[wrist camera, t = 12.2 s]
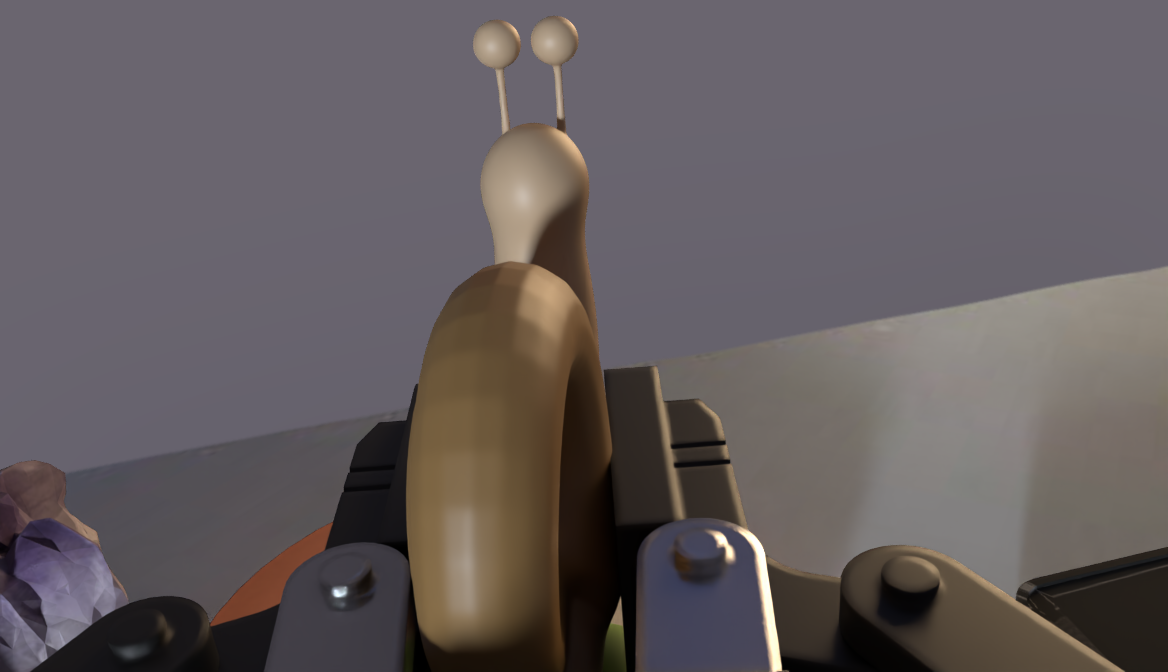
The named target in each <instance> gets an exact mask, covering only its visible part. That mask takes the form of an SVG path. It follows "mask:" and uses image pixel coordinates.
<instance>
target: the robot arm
mask: <svg viewBox="0 0 1168 672" xmlns="http://www.w3.org/2000/svg"><path fill="white" fill-rule="evenodd" d="M604 379H605V392H606V403H607V410H608V417H609V426H610V434H611V442H612V455H611V458H610V459H611V472H612V486H613V499H614V513H615V526H616V539H617V552H618V565H619V579H620V592H621V605H622V618H623V631H624V645H625V658H626V671H627V672H1125V671H1123V670H1122V669H1120V668H1119V667H1117V666H1116V665H1114V664H1113V663H1111V662H1110V661H1108V660H1107V659H1105V658H1103V657H1102V656H1100V655H1099V654H1097V653H1096V652H1094V651H1093V650H1091V649H1090V648H1088V647H1087V646H1085V645H1084V644H1082V643H1081V642H1079V641H1078V640H1076V639H1075V638H1073V637H1071V636H1070V635H1068V634H1067V633H1065V632H1064V631H1062V630H1061V629H1059V628H1058V627H1056V626H1055V625H1053V624H1052V623H1050V622H1049V621H1047V620H1046V619H1044V618H1043V617H1041V616H1040V615H1038V614H1036V613H1035V612H1033V611H1032V610H1030V609H1029V608H1027V607H1026V606H1024V605H1023V604H1021V603H1020V602H1018V601H1017V600H1015V599H1014V598H1012V597H1011V596H1009V595H1008V594H1006V593H1004V592H1003V591H1001V590H1000V589H998V588H997V587H995V586H994V585H992V584H991V583H989V582H988V581H986V580H985V579H983V578H982V577H980V576H979V575H977V574H976V573H974V572H972V571H971V570H969V569H968V568H966V567H965V566H963V565H962V564H960V563H959V562H957V561H955V560H954V559H952V558H950V557H948V556H946V555H944V554H941V553H939V552H936V551H933V550H930V549H926V548H921V547H916V546H906V545H891V546H883V547H878V548H874V549H870V550H868V551H865V552H863V553H861V554H859V555H858V556H856V557H854V558H853V559H852V560H851V561H850V562H849V563H848V564H847V565H846V567H845V568H844V570H843V572H842V575H841V578H838V577H831V576H825V575H818V574H812V573H807V572H802V571H798V570H795V569H792V568H789V567H787V566H784V565H782V564H780V563H778V562H776V561H774V560H772V559H771V558H769V557H768V556H767V555H765V554H764V550H763V547H762V545H761V544H760V542H759V540H758V539H757V538H756V537H755V536H754V535H753V534H751V533H750V532H749V531H748V528H747V524H746V520H745V516H744V512H743V508H742V504H741V500H740V496H739V492H738V488H737V484H736V480H735V476H734V473H733V469H732V465H731V464H730V457H729V453H728V449H727V445H726V443H725V437H724V433H723V429H722V425H721V421H720V418H719V417H718V416H717V415H716V414H715V413H714V412H713V411H712V410H711V409H709V408H708V407H707V406H706V405H705V404H704V403H703V402H702V401H701V400H700V399H689V400H676V401H663V399H662V393H661V387H660V381H659V375H658V370H657V366H648V367H635V368H621V369H608V370H604ZM417 390H418V384H416V386H415V388H414V392H413V396H412V400H411V404H410V408H409V412H408V416H407V420H406V421H393V422H380V423H378V424H377V425H376V426H375V427H374V428H373V429H372V430H371V431H370V432H369V433H368V434H367V435H366V436H365V437H364V438H363V439H362V440H361V441H360V442H359V443H358V444H357V446H356V449H355V453H354V456H353V459H352V462H351V466H350V473H348V475H347V479H346V482H345V485H344V492H343V493H342V495H341V498H340V501H339V504H338V508H337V511H336V514H335V517H334V520H333V524H332V527H331V530H330V533H329V537H328V540H327V543H326V546H325V550H324V551H322V552H320V553H318V554H316V555H314V556H312V557H311V558H309V559H308V560H306V561H305V562H303V563H302V564H301V565H300V566H299V567H297V568H296V569H295V570H294V572H293V573H292V574H291V575H290V577H289V578H288V580H287V581H286V584H285V587H284V589H283V594H282V598H281V602H280V603H279V604H277V605H275V606H273V607H271V608H268V609H266V610H263V611H260V612H258V613H255V614H251V615H248V616H245V617H241V618H238V619H234V620H231V621H228V622H224V623H221V624H217V625H214V626H210V623H209V620H208V616H207V613H206V612H205V610H204V609H203V608H202V607H201V606H200V605H199V604H198V603H196V602H194V601H192V600H190V599H186V598H182V597H174V596H161V597H153V598H148V599H143V600H139V601H136V602H133V603H130V604H127V605H125V606H122V607H120V608H118V609H115V610H114V611H112V612H110V613H108V614H106V615H105V616H103V617H102V618H100V619H99V620H97V621H96V622H95V623H93V624H92V625H91V626H89V627H88V628H87V629H85V630H84V631H83V632H81V633H80V634H79V635H77V636H76V637H75V638H74V639H72V640H71V641H70V642H68V643H67V644H66V645H64V646H63V647H62V648H60V649H59V650H58V651H57V652H55V653H54V654H53V655H51V656H50V657H49V658H47V659H46V660H45V661H43V662H42V663H41V664H39V665H38V666H37V667H36V668H34V669H33V670H32V671H30V672H431V669H430V667H429V664H428V661H427V659H426V656H425V652H424V648H423V644H422V640H421V635H420V631H419V626H418V620H417V613H416V606H415V598H414V590H413V582H412V577H411V570H410V561H409V553H408V539H407V521H406V481H407V460H408V448H409V438H410V430H411V424H412V417H413V411H414V407H415V403H416V397H417Z"/></svg>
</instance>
